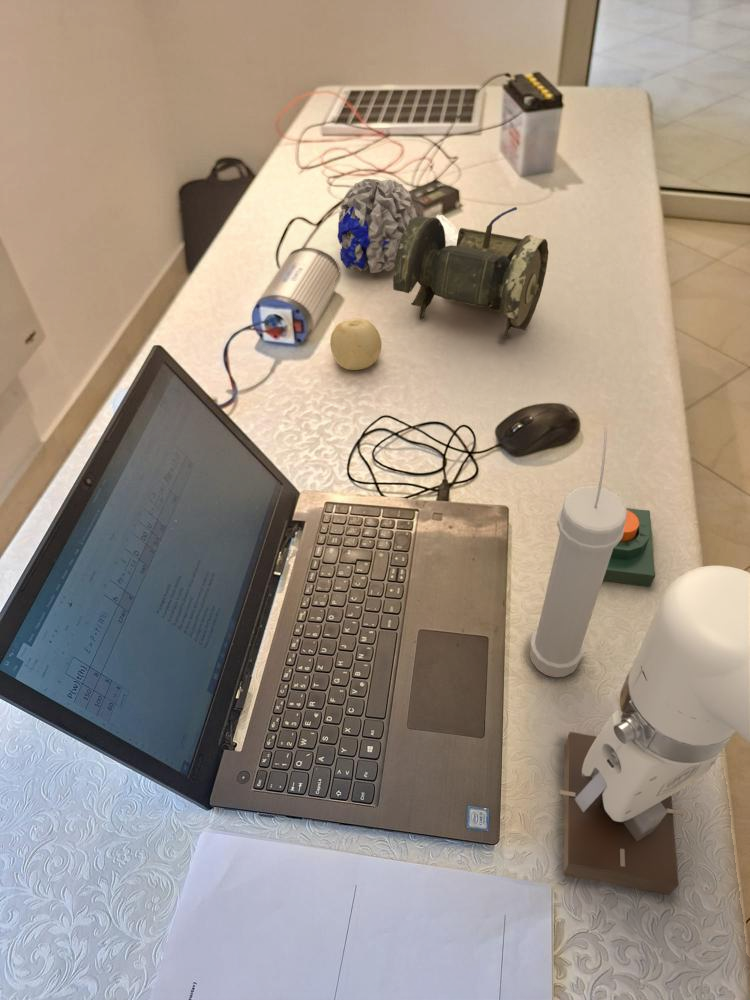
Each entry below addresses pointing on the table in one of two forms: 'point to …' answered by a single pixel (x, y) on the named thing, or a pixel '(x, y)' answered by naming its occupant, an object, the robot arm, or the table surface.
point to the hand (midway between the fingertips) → (622, 800)
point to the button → (630, 527)
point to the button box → (634, 556)
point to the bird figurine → (449, 231)
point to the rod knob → (645, 821)
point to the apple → (355, 344)
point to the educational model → (373, 224)
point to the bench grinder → (472, 269)
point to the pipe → (576, 575)
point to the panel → (612, 836)
